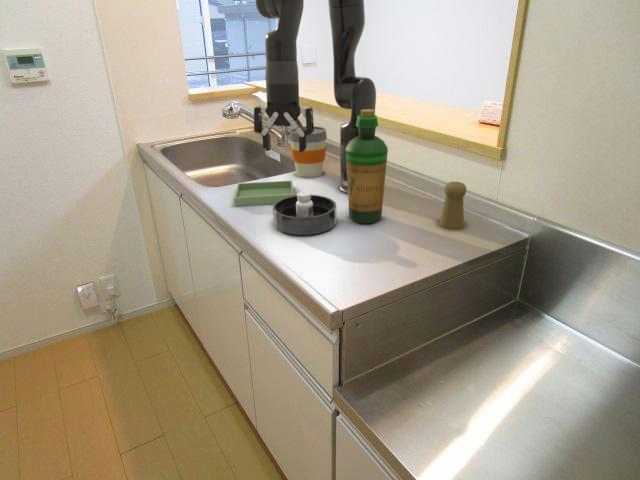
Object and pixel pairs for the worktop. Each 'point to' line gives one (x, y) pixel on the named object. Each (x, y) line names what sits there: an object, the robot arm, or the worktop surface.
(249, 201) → the tray
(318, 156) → the reusable coffee cup
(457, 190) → the cork
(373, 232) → the worktop surface
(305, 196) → the pill bottle
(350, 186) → the bottle
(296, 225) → the pan
